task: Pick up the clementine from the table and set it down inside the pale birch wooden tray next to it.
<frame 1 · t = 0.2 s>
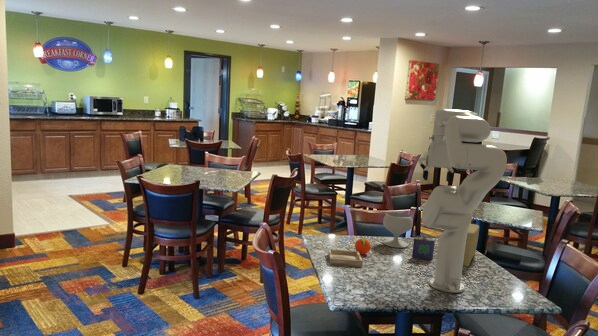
hand: (436, 180, 195), 36 cm above the table, tool pointing down, fingers open, 9 cm apart
tray: (344, 260, 196), on the table
flask: (422, 259, 208), on the table
chalice: (395, 245, 227), on the table
clementine: (362, 254, 207), on the table
cheese: (465, 260, 211), on the table
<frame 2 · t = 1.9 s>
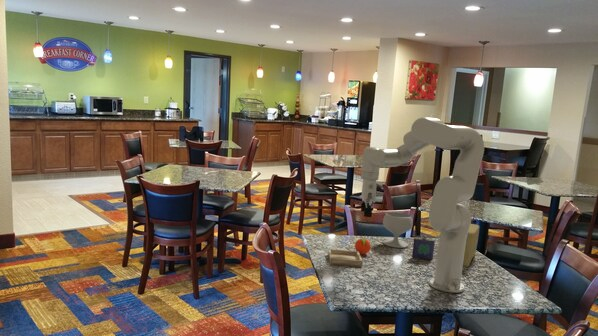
hand: (365, 214, 205), 18 cm above the table, tool pointing down, fingers open, 9 cm apart
nothing on the table moved.
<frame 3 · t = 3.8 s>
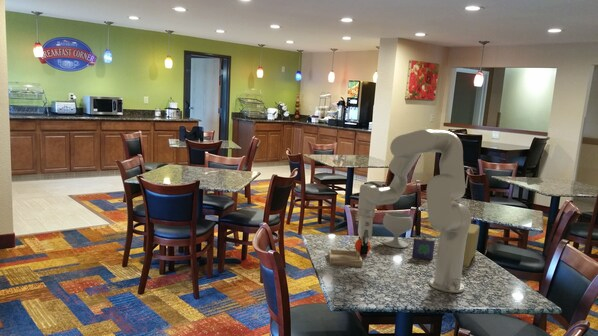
hand: (362, 250, 207), 2 cm above the table, tool pointing down, fingers closed on clementine, 8 cm apart
clementine: (362, 254, 207), on the table, touching gripper
everything else where it was.
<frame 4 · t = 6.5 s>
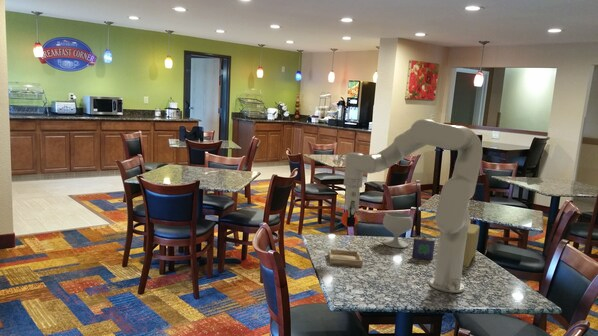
hand: (349, 223, 195), 16 cm above the table, tool pointing down, fingers closed on clementine, 8 cm apart
clementine: (348, 227, 195), point 14 cm above the table, touching gripper
everything else where it was.
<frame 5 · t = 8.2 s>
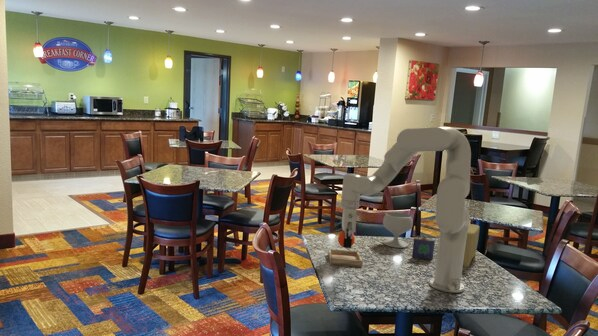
hand: (346, 244, 195), 7 cm above the table, tool pointing down, fingers closed on clementine, 8 cm apart
clementine: (345, 248, 196), point 5 cm above the table, touching gripper
everything else where it was.
when the fingers open (4 cm above the table, at t = 9.4 s): clementine drops 2 cm, resting on tray.
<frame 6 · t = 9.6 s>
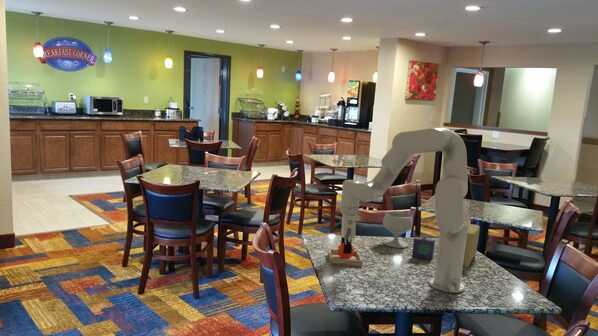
hand: (345, 249, 196), 5 cm above the table, tool pointing down, fingers open, 9 cm apart
clementine: (345, 259, 196), point 1 cm above the table, touching gripper, tray
everything else where it was.
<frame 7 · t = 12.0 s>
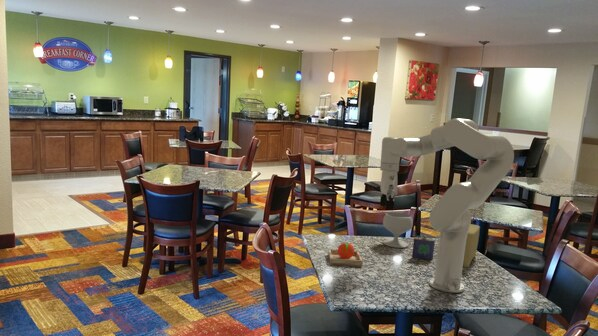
hand: (386, 207, 195), 24 cm above the table, tool pointing down, fingers open, 9 cm apart
clementine: (345, 259, 196), point 1 cm above the table, touching tray
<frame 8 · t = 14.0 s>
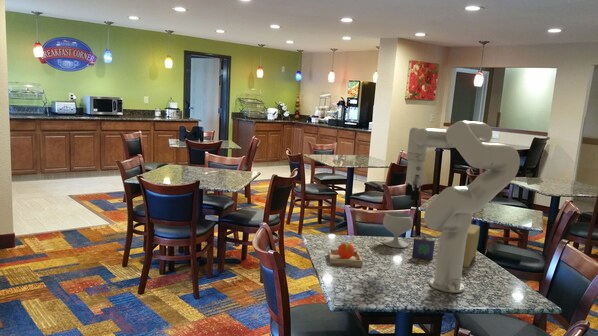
hand: (411, 197, 196), 28 cm above the table, tool pointing down, fingers open, 9 cm apart
at the end: clementine inside the target area on the tray (0.5 cm from its centre), point 0.6 cm above the tray's base; the gripper is holding nothing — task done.
